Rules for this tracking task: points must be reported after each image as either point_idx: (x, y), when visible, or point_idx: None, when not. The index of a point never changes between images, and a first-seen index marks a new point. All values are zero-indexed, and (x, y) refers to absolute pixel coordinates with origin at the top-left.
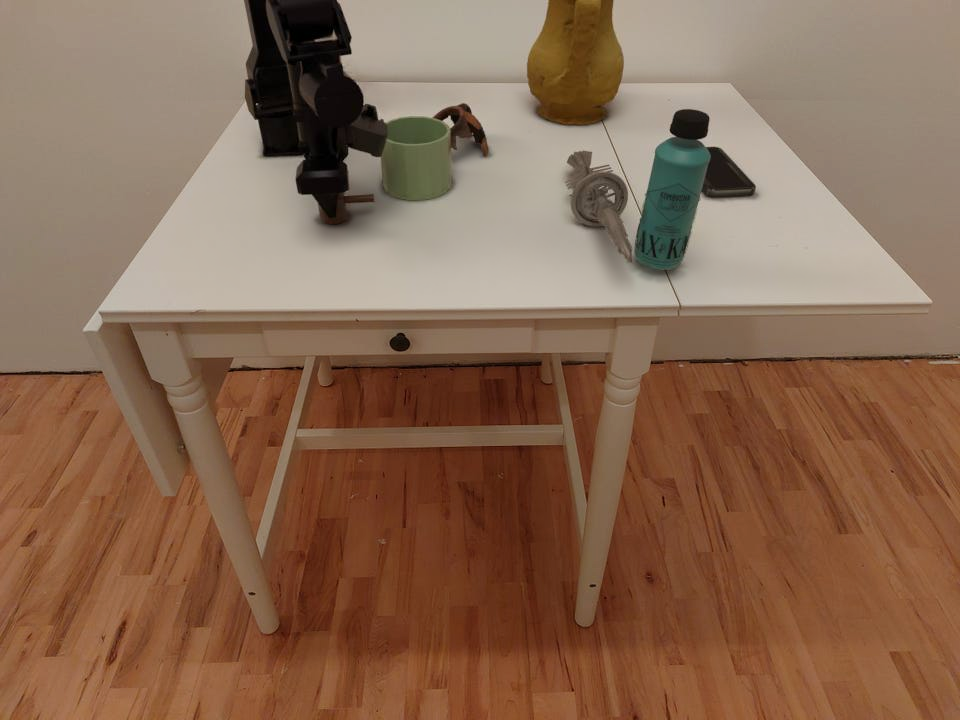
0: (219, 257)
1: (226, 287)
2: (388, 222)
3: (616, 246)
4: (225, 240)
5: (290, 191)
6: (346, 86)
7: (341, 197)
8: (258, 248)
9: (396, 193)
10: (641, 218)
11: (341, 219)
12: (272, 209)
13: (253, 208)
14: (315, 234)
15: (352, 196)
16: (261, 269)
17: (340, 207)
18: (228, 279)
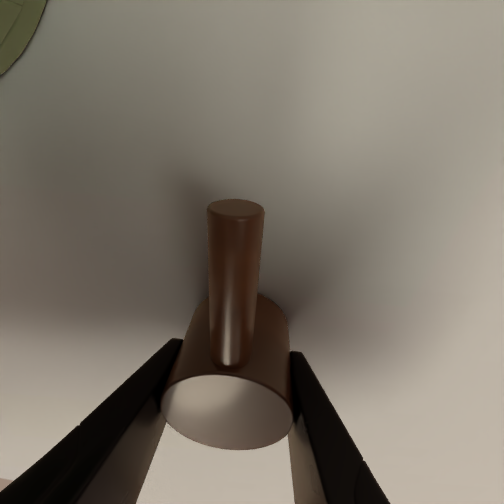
0: None
1: (471, 497)
2: (331, 113)
3: None
4: (291, 485)
5: (72, 395)
6: None
7: (254, 388)
8: None
9: (19, 3)
10: None
11: (282, 318)
12: (170, 428)
13: (164, 449)
14: (327, 373)
15: (236, 337)
16: (441, 462)
17: (280, 359)
18: (443, 494)
